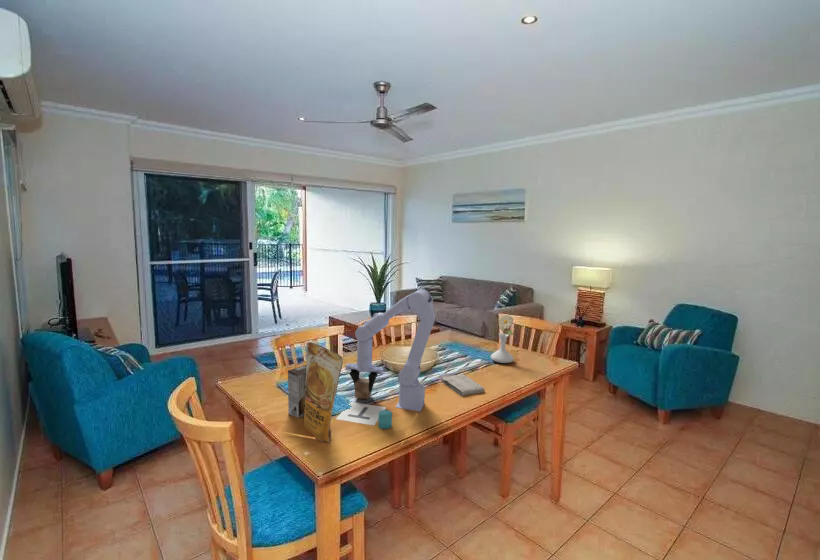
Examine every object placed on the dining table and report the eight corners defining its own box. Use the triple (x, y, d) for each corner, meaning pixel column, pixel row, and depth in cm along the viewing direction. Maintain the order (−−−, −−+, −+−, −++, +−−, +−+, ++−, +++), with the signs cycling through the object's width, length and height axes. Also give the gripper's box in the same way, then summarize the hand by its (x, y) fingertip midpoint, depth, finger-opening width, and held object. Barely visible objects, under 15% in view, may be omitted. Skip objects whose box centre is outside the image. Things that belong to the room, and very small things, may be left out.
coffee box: (308, 405, 151) (308, 363, 149) (319, 410, 147) (320, 367, 145) (287, 413, 144) (287, 369, 142) (298, 419, 140) (298, 374, 138)
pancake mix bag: (315, 417, 142) (315, 339, 138) (343, 440, 128) (345, 354, 124) (296, 422, 138) (296, 342, 134) (324, 447, 124) (325, 358, 120)
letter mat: (386, 408, 151) (386, 407, 151) (374, 426, 137) (374, 425, 137) (350, 403, 154) (351, 401, 154) (335, 420, 140) (335, 419, 140)
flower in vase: (486, 358, 211) (489, 310, 207) (505, 356, 214) (509, 310, 211) (499, 367, 199) (502, 316, 195) (519, 365, 202) (523, 316, 198)
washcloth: (461, 377, 185) (461, 371, 184) (485, 393, 169) (486, 386, 168) (438, 381, 179) (439, 374, 179) (461, 398, 163) (462, 390, 163)
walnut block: (371, 393, 160) (371, 379, 159) (367, 399, 155) (367, 384, 154) (359, 392, 161) (359, 377, 160) (354, 397, 156) (354, 382, 155)
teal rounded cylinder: (393, 425, 139) (393, 411, 138) (389, 431, 135) (389, 417, 134) (380, 423, 140) (381, 409, 139) (376, 429, 136) (376, 415, 135)
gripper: (342, 356, 154) (342, 390, 156) (379, 361, 150) (378, 396, 152) (349, 351, 161) (349, 383, 163) (385, 355, 157) (384, 388, 159)
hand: (363, 389), depth 158 cm, fingers closed on walnut block, 5 cm apart
